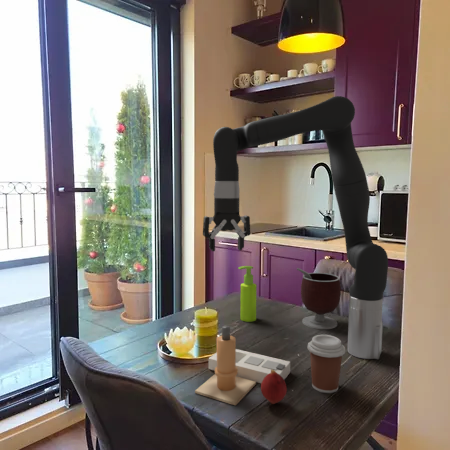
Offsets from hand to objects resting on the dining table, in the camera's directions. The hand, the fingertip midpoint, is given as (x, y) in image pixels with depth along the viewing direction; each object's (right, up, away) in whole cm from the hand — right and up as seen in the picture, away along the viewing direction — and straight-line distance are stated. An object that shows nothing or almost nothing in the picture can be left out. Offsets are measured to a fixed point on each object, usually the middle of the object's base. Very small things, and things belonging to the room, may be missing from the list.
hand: (226, 250), depth 117 cm
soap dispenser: (+8, -28, +27) cm, 40 cm away
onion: (+11, -34, -28) cm, 45 cm away
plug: (0, -32, -22) cm, 39 cm away
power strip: (+6, -32, -13) cm, 35 cm away
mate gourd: (+33, -28, +24) cm, 49 cm away
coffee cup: (+24, -33, -21) cm, 46 cm away
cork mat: (0, -33, -22) cm, 39 cm away
